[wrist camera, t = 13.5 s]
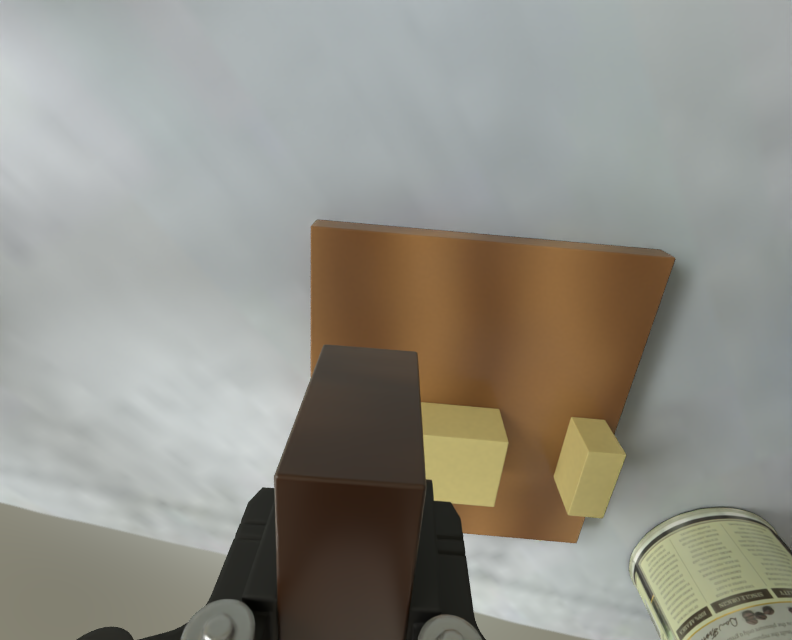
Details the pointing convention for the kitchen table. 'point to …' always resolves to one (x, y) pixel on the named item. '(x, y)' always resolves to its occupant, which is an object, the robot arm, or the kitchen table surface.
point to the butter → (463, 452)
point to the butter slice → (588, 467)
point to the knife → (351, 499)
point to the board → (496, 338)
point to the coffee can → (715, 577)
